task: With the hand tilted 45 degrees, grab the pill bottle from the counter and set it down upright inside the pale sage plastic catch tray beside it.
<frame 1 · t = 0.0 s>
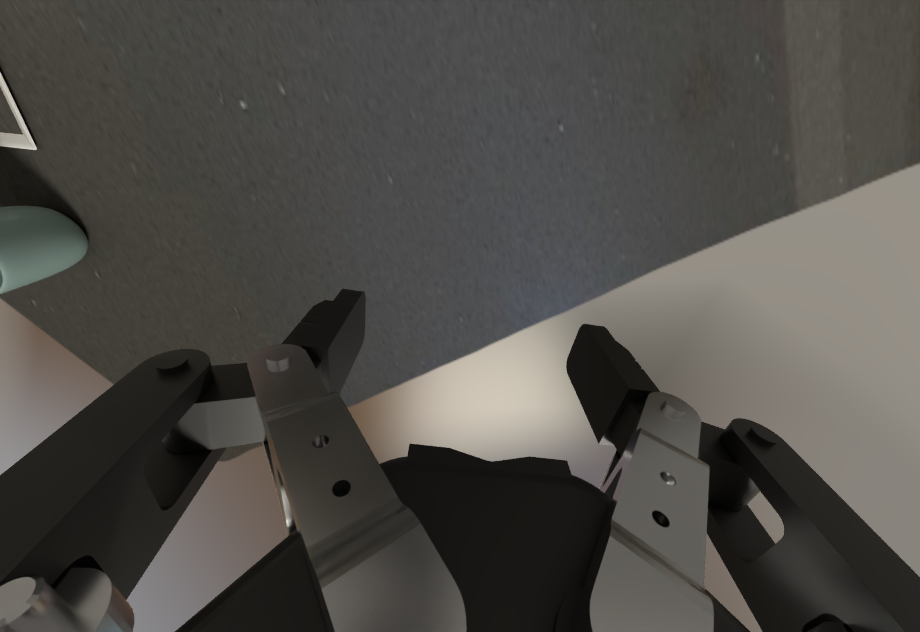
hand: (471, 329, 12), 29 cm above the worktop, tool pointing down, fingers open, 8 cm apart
cup: (68, 232, 40), on the worktop
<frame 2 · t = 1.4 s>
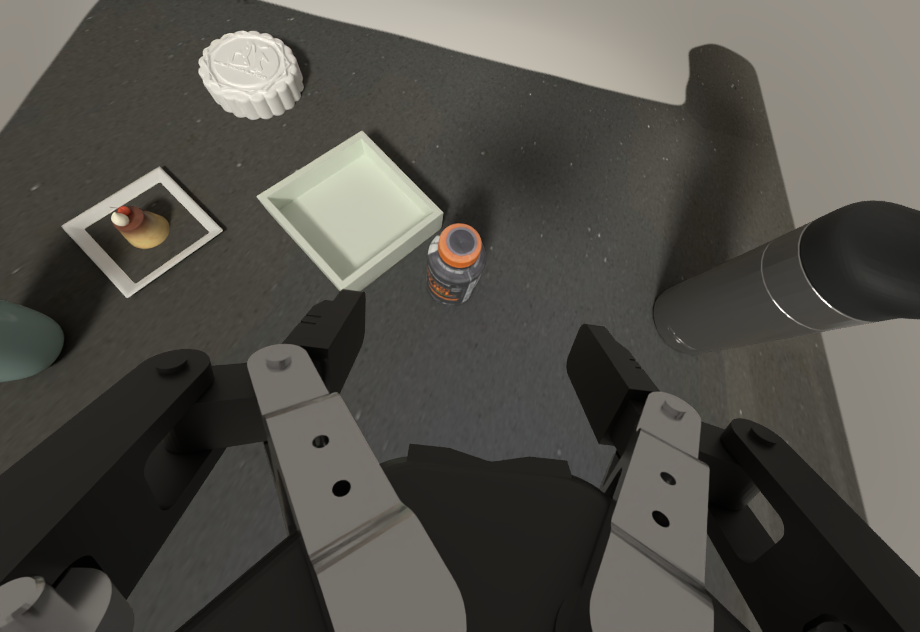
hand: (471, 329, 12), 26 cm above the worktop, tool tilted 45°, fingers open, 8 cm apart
cup: (40, 348, 34), on the worktop
mooncake: (259, 87, 45), on the worktop
pill bottle: (450, 285, 41), on the worktop
catch tray: (358, 220, 41), on the worktop
dessert: (153, 234, 39), on the worktop
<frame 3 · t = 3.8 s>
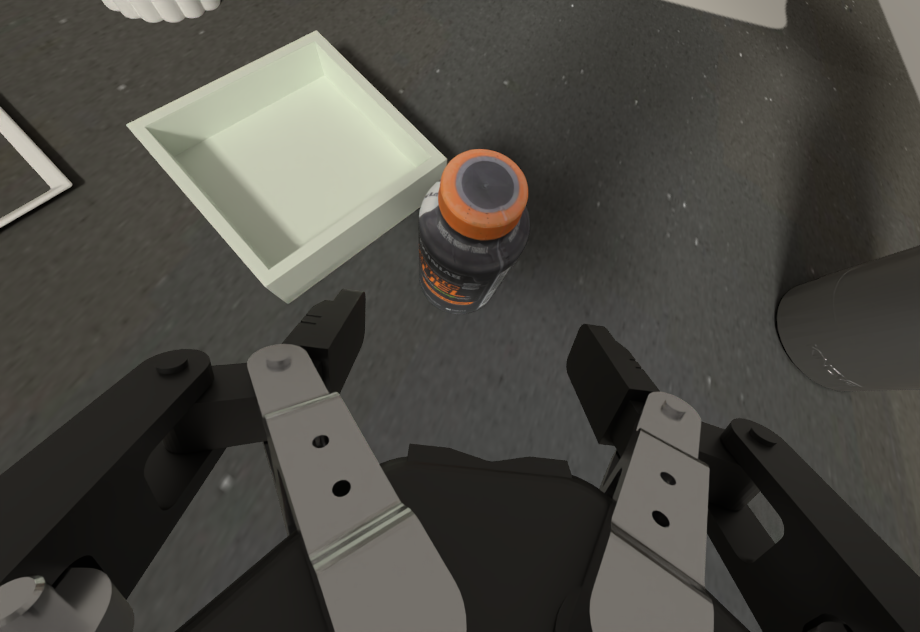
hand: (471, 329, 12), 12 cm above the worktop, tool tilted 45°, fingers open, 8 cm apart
pill bottle: (457, 279, 25), on the worktop
catch tray: (310, 176, 26), on the worktop
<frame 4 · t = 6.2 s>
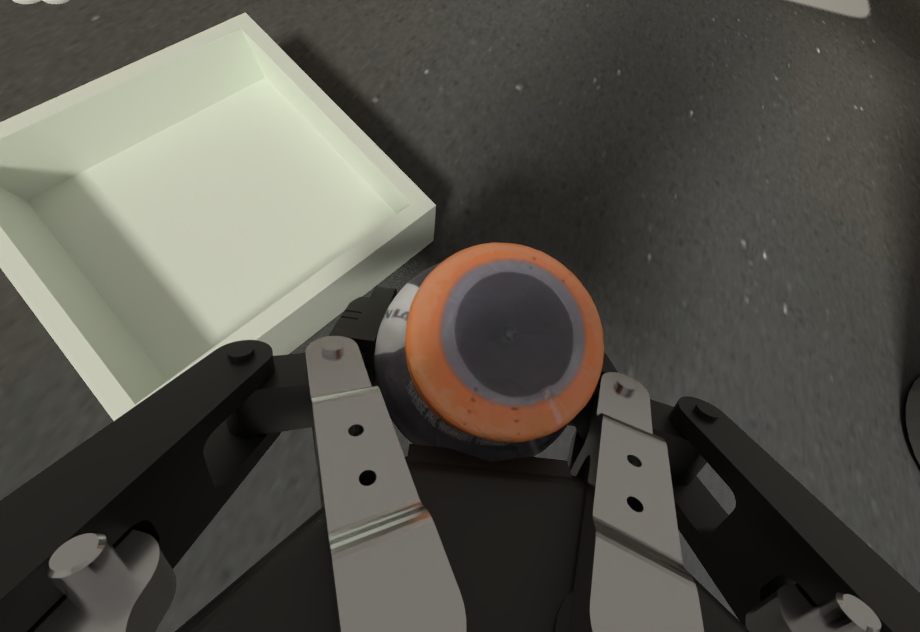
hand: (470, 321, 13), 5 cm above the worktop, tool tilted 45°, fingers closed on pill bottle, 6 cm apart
pill bottle: (453, 377, 17), on the worktop, touching gripper
catch tray: (239, 225, 18), on the worktop
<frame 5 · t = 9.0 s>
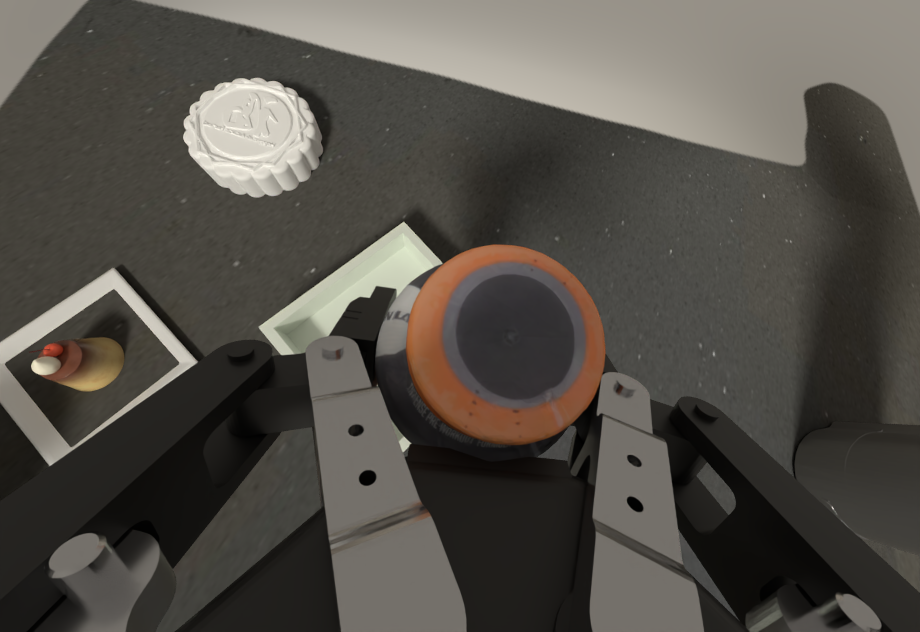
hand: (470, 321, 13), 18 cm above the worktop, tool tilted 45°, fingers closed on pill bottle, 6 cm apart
mooncake: (265, 150, 35), on the worktop
pill bottle: (453, 378, 17), point 13 cm above the worktop, touching gripper
catch tray: (396, 342, 30), on the worktop
dessert: (102, 364, 28), on the worktop
when the fingers open (7 cm above the worktop, at t = 12.1 s): pill bottle drops 1 cm, resting on catch tray.
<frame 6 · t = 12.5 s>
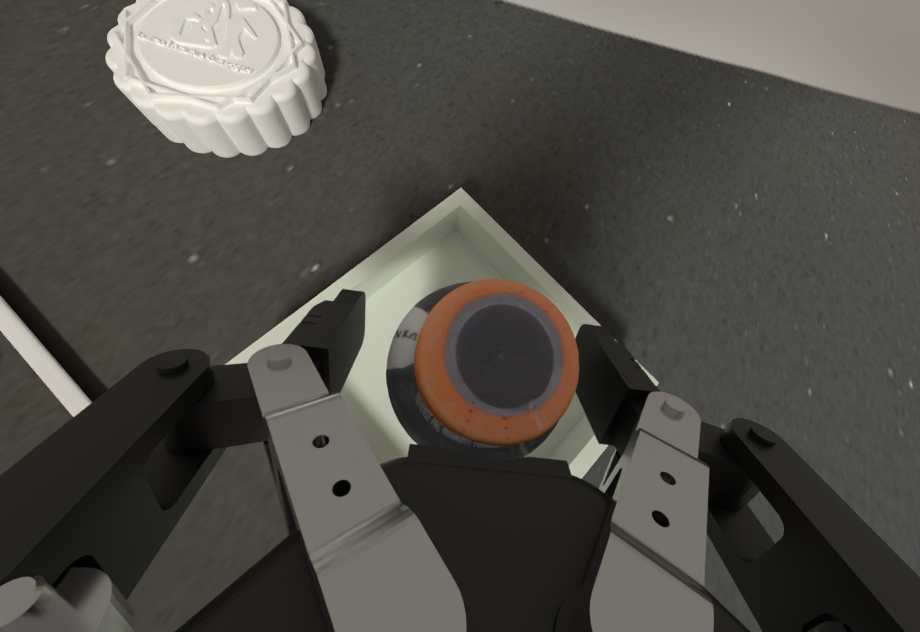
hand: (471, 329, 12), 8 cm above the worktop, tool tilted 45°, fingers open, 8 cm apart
mooncake: (241, 91, 23), on the worktop
pill bottle: (453, 383, 19), point 1 cm above the worktop, touching catch tray
catch tray: (449, 380, 19), on the worktop
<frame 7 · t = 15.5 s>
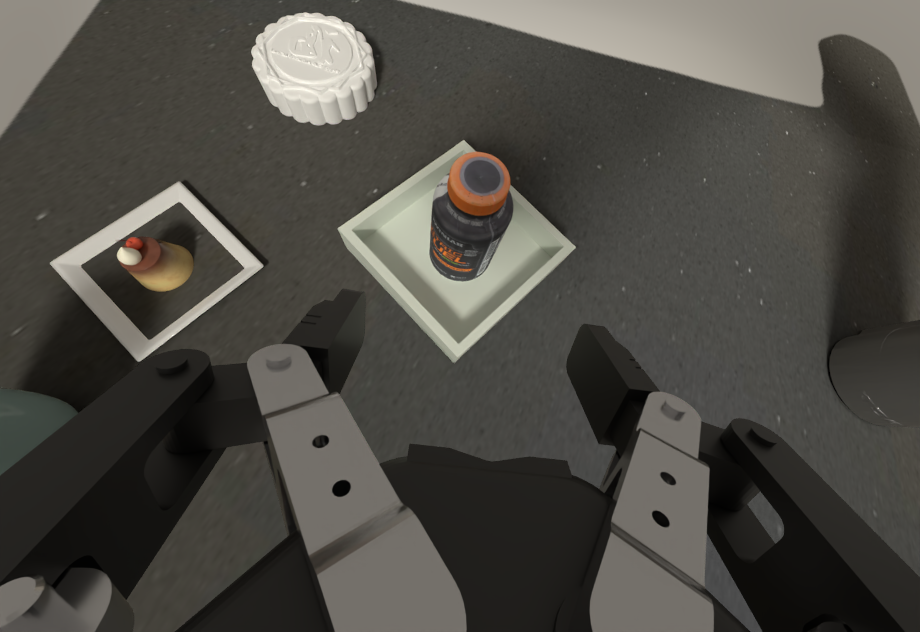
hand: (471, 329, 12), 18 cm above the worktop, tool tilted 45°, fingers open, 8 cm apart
cup: (50, 441, 25), on the worktop
mooncake: (322, 84, 36), on the worktop
pill bottle: (459, 255, 32), point 1 cm above the worktop, touching catch tray
catch tray: (457, 255, 32), on the worktop
dessert: (171, 270, 29), on the worktop
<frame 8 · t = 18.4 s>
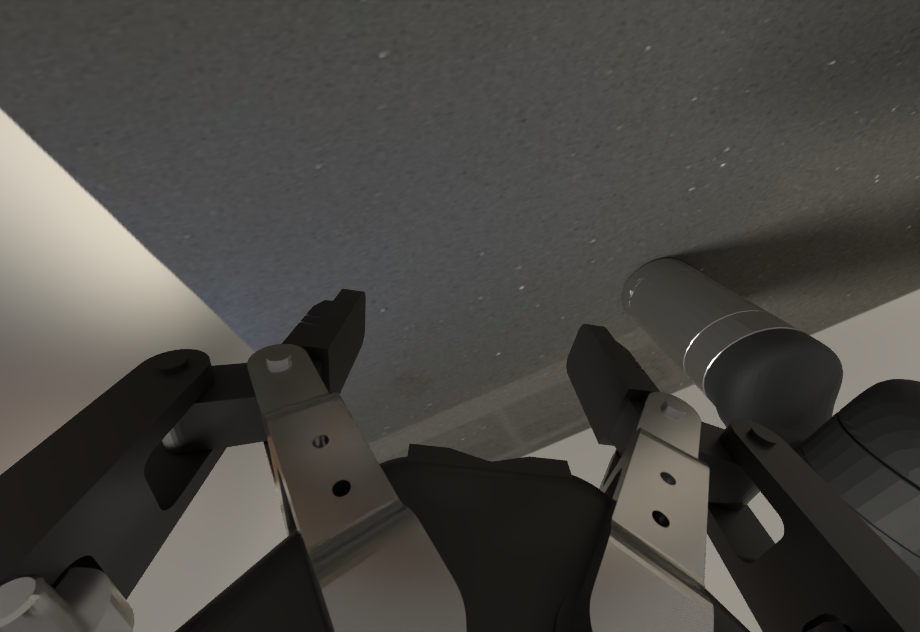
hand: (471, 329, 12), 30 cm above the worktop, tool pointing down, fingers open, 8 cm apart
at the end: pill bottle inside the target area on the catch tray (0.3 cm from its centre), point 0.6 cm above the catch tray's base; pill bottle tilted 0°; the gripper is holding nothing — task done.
